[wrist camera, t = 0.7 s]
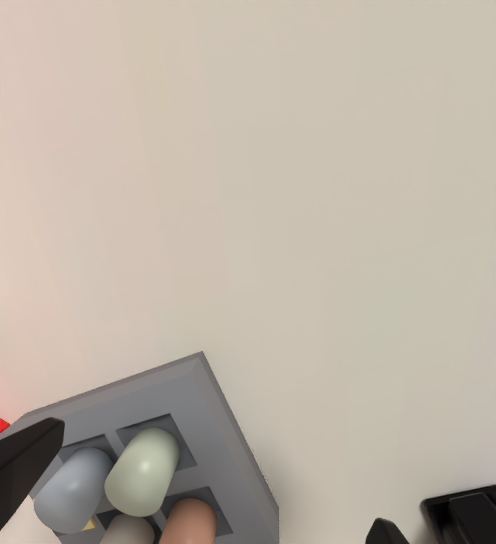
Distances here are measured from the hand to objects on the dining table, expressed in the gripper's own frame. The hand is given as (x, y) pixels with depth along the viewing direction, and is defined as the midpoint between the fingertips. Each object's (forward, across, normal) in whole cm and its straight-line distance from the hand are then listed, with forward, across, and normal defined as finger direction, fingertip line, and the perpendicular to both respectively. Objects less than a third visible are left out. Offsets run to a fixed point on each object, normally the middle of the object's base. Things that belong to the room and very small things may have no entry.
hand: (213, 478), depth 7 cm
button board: (+13, +6, +17) cm, 22 cm away
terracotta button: (+10, 0, +17) cm, 20 cm away
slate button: (+10, +9, +15) cm, 21 cm away
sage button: (+10, +4, +12) cm, 16 cm away
